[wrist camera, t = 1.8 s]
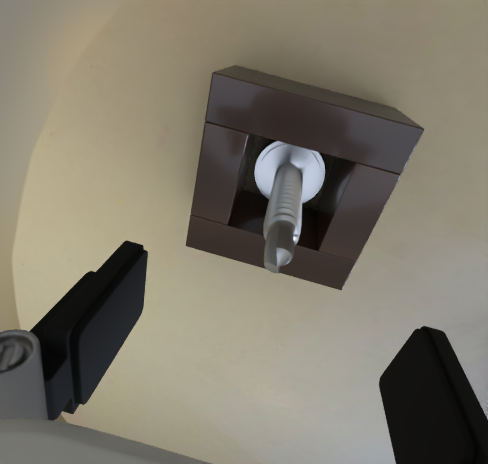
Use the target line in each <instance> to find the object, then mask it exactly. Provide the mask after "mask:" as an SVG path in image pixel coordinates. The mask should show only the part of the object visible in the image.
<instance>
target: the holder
mask: <svg viewBox="0 0 488 464" xmlns="http://www.w3.org/2000/svg"><path fill="white" fill-rule="evenodd" d="M205 121H206V122H205V125H204V131H203V138H202V144H201V151H200V157H199V164H198V170H197V177H196V183H195V190H194V196H193V203H192V209H191V215H190V221H189V228H188V234H187V241H186V246H188V247H191V248H195V249H198V250H202V251H205V252H209V253H212V254H216V255H219V256H223V257H226V258H230V259H233V260H237V261H240V262H244V263H247V264H251V265H254V266H258V267H261V268H265V266H264V249H265V243H266V240H265V238H264V234H263V230H264V228H263V224H264V220H265V216H266V211H267V207H268V203H269V199H268V198H266V197H265V196H264V195H260V194H257V193H253V192H249V191H246V190H243V188H244V184H245V180H246V176H247V171H248V167H249V163H250V159H251V155H252V151H253V147H254V143H255V138H256V135H258V136H261V137H265V138H269V139H272V140H276V141H280V142H283V143H287V144H290V145H294V146H298V147H301V148H305V149H309V150H312V151H316V152H320V153H323V154H327V155H331V156H334V157H336V160H335V162H334V165H333V167H332V170H331V173H330V175H329V178H328V180H327V183H326V185H325V188H324V191H323V193H322V196H321V198H320V201H319V203H318V206H317V208H316V210H314V209H311V208H307V207H303V206H302V221H301V222H302V226H301V233H300V236H299V240H298V242H297V244H296V245H295V248H294V255H293V257H292V259H291V261H290V262H289V263H288V264H286V265H283V266H280V271H279V273H283V274H286V275H290V276H293V277H297V278H300V279H304V280H307V281H311V282H314V283H318V284H321V285H325V286H328V287H332V288H335V289H339V290H342V288H343V286H344V284H345V283H346V281H347V279H348V277H349V275H350V273H351V271H352V269H353V267H354V265H355V263H356V261H357V259H358V257H359V255H360V254H361V252H362V250H363V248H364V246H365V244H366V242H367V240H368V238H369V236H370V234H371V232H372V230H373V228H374V226H375V224H376V222H377V221H378V219H379V217H380V215H381V213H382V211H383V209H384V207H385V205H386V203H387V201H388V199H389V197H390V195H391V193H392V191H393V190H394V188H395V186H396V184H397V182H398V180H399V178H400V176H401V175H400V174H402V172H403V170H404V168H405V166H406V164H407V162H408V160H409V158H410V156H411V154H412V152H413V150H414V148H415V146H416V145H417V143H418V141H419V139H420V137H421V135H422V133H423V131H424V129H423V128H422V127H421V126H419V125H418V124H417V123H415V122H414V121H412V120H411V119H410V118H408V117H407V116H406V115H404V114H403V113H401V112H400V111H399V110H397V109H396V108H393V107H389V106H386V105H382V104H378V103H374V102H371V101H367V100H363V99H359V98H356V97H352V96H348V95H344V94H341V93H337V92H333V91H330V90H326V89H322V88H318V87H315V86H311V85H307V84H303V83H300V82H296V81H292V80H288V79H285V78H281V77H277V76H274V75H270V74H266V73H262V72H259V71H255V70H251V69H247V68H244V67H240V66H236V65H235V66H232V67H228V68H225V69H222V70H219V71H215V72H213V73H212V79H211V85H210V92H209V98H208V105H207V111H206V118H205ZM265 269H266V268H265Z"/></svg>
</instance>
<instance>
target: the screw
mask: <svg viewBox="0 0 488 464" xmlns="http://www.w3.org/2000/svg"><path fill="white" fill-rule="evenodd" d="M254 174H255V181H256V183H257V186H258V188H259V190H260V191H261V193H262V194H263V195H264V196H265V197H266V198H268V199H269V203H268V207H267V211H266V216H265V220H264V224H263V228H264V230H263V234H264V238H265V240H266V243H265V249H264V266H265V268H266V269H268V270H269V271H271V272H273V273H279V271H280V266H283V265H286V264H288V263H289V262H290V261H291V259H292V257H293V255H294V248H295V245H296V244H297V242H298V240H299V236H300V233H301V226H302V222H301V221H302V203H304V202H307V201H308V200H310V199H311V198H313V197H314V196H315V195H316V194H317V193H318V192H319V190H320V188H321V187H322V184H323V182H324V178H325V166H324V161H323V159H322V156H321V154H320V153H319V152H316V151H312V150H309V149H305V148H301V147H298V146H294V145H290V144H287V143H283V142H280V141H274V142H272V143H271V144H269V145H268V146H267V147H266V148H265V149H264V150H263V151H262V152H261V154H260V155H259V157H258V159H257V162H256V165H255V173H254Z"/></svg>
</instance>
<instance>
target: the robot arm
mask: <svg viewBox="0 0 488 464" xmlns="http://www.w3.org/2000/svg"><path fill="white" fill-rule="evenodd" d="M147 257H148V252H147V251H146V250H144V248H143V245H140V244H137V243H133V242H130V241H125V242H124V243H123V244H122V245H121V246H120V247H119V248H118V249H117V250H116V251H115V252H114V253H113V254H112V255H111V256H110V258H109V259H108V260H107V261H106V262H105V263H104V264H103V265H102V266H101V267H100V268H99V269H98V270H97V271H96V272H93V271H90V272H88V273H86V274H85V275H84V276H83V277H82V278H81V279H80V280H79V281H78V282H77V283H76V284H75V285H74V286H73V287H72V288H71V289H70V290H69V291H68V292H67V294H66V295H65V296H64V297H63V298H62V299H61V300H60V301H59V302H58V303H57V304H56V305H55V306H54V307H53V308H52V309H51V310H50V311H49V312H48V313H47V314H46V315H45V316H44V317H43V318H42V319H41V320H40V321H39V322H38V323H37V324H36V325H35V326H34V327H33V328H32V329H31V330H30V331H26V330H17V329H16V330H7V331H3V332H0V464H211V463H208V462H204V461H201V460H197V459H194V458H191V457H187V456H184V455H181V454H177V453H174V452H171V451H167V450H164V449H161V448H157V447H154V446H151V445H147V444H144V443H141V442H137V441H133V440H130V439H126V438H123V437H119V436H115V435H112V434H108V433H105V432H101V431H97V430H94V429H90V428H87V427H82V426H78V425H73V424H69V423H64V422H59V421H53V420H55V419H57V418H58V417H59V415H60V414H61V412H62V411H64V412H67V413H70V414H74V412H75V410H76V409H77V407H78V406H79V404H82V405H84V404H86V403H87V401H88V400H89V398H90V397H91V395H92V393H93V392H94V390H95V389H96V387H97V385H98V384H99V382H100V381H101V379H102V377H103V376H104V374H105V372H106V371H107V369H108V368H109V366H110V364H111V363H112V361H113V359H114V358H115V356H116V355H117V353H118V351H119V350H120V348H121V346H122V345H123V343H124V342H125V340H126V338H127V337H128V335H129V333H130V332H131V330H132V329H133V327H134V325H135V324H136V322H137V321H138V319H139V317H140V315H141V313H142V310H143V305H144V293H145V281H146V269H147ZM379 387H380V392H381V397H382V401H383V406H384V410H385V415H386V420H387V424H388V429H389V433H390V438H391V442H392V447H393V452H394V456H395V461H396V464H488V420H487V418H486V416H485V414H484V411H483V409H482V407H481V405H480V403H479V401H478V399H477V397H476V395H475V393H474V391H473V389H472V387H471V385H470V383H469V381H468V379H467V377H466V375H465V373H464V371H463V369H462V367H461V365H460V363H459V361H458V359H457V356H456V354H455V352H454V350H453V348H452V346H451V344H450V342H449V340H448V338H447V336H446V334H445V333H444V332H443V331H441V330H437V329H434V328H430V327H427V326H423V327H421V328H420V329H416V330H415V331H414V332H413V333H412V334H411V336H410V337H409V339H408V340H407V341H406V343H405V344H404V345H403V347H402V348H401V350H400V351H399V352H398V354H397V355H396V356H395V358H394V359H393V360H392V362H391V363H390V365H389V366H388V367H387V369H386V370H385V371H384V373H383V374H382V376H381V377H380V381H379Z"/></svg>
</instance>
